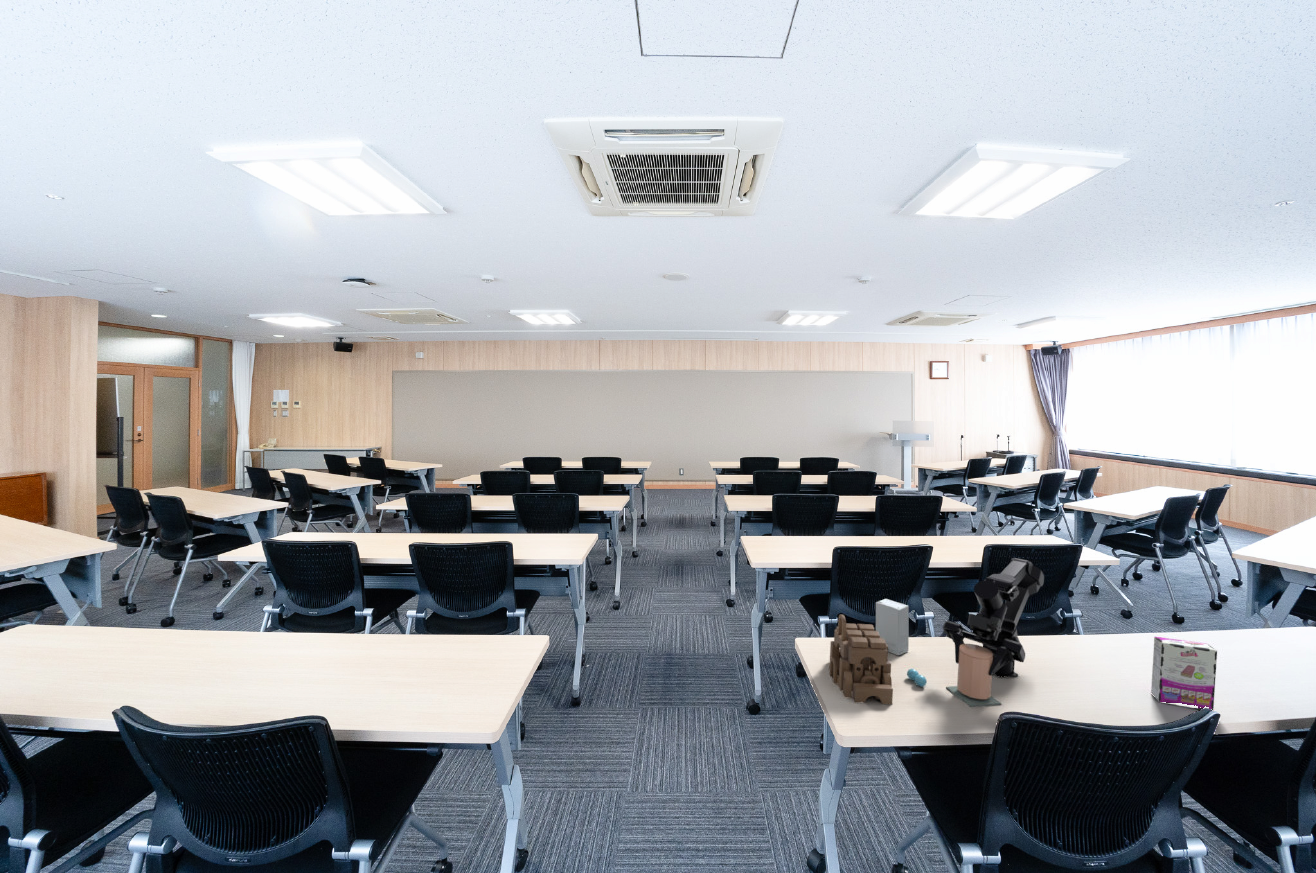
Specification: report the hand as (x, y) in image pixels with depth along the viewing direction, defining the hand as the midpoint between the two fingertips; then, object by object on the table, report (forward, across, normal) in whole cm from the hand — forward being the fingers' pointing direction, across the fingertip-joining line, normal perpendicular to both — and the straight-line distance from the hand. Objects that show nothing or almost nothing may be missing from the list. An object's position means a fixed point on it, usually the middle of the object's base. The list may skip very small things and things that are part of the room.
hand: (972, 668), depth 139 cm
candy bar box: (-24, +36, +36) cm, 56 cm away
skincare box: (-2, -27, +13) cm, 30 cm away
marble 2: (+9, -11, +2) cm, 15 cm away
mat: (+5, 0, +6) cm, 8 cm away
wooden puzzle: (+17, -23, -6) cm, 29 cm away
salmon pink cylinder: (+4, 0, +6) cm, 7 cm away
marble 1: (+8, -14, +3) cm, 16 cm away
